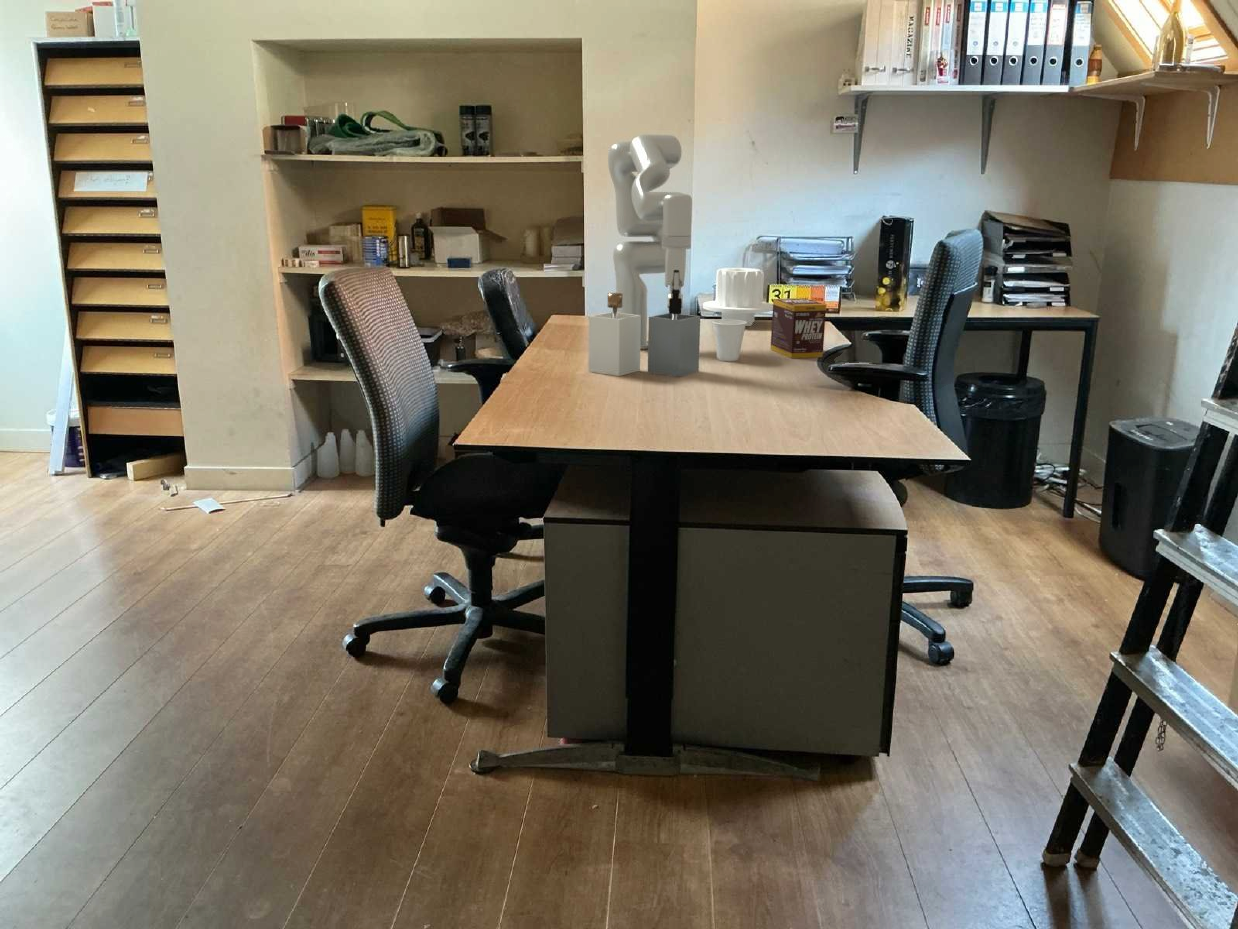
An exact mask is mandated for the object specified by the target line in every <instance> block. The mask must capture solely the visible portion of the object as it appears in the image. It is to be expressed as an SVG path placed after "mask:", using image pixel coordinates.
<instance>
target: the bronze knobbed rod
mask: <svg viewBox="0 0 1238 929" xmlns="http://www.w3.org/2000/svg"><path fill="white" fill-rule="evenodd" d="M622 307H623V294H622V293H616V292H609V293H607V308H610V309H612V312H613V319H617V308H622Z"/></svg>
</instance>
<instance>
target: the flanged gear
mask: <svg viewBox="0 0 1238 929" xmlns="http://www.w3.org/2000/svg"><path fill="white" fill-rule="evenodd" d="M715 275H716V276H715V277H716V278H715V300H709V301H705V302H703V303H702V308H703V309H704V310H706V311H710V312H717V313H721V319H734V320H742V321H746V322H747V324H746V326H750V327H752V325H753V324H754V323H755V314H762V313H770V312H773V303H771V302H764V301H763V300H764V285H765V284H764V283H765V282H764V281H765V273H764V271H763V270H762V269H758V268H753V267H752V268H749V267H723V268H718V269H717V270H716V274H715ZM753 322H754V323H753ZM752 323H753V324H752Z"/></svg>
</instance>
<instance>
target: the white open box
mask: <svg viewBox="0 0 1238 929" xmlns="http://www.w3.org/2000/svg"><path fill="white" fill-rule="evenodd" d="M640 339H641V315H633V314H624V313H617V319H613V311H608V312H605V313H598V314H593V315H589V316H588V372H589V373H595V374H601V375H609V376H614V377H620V376H624V375H628V374H631V373H636V372H639V371H641V349H640Z"/></svg>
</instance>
